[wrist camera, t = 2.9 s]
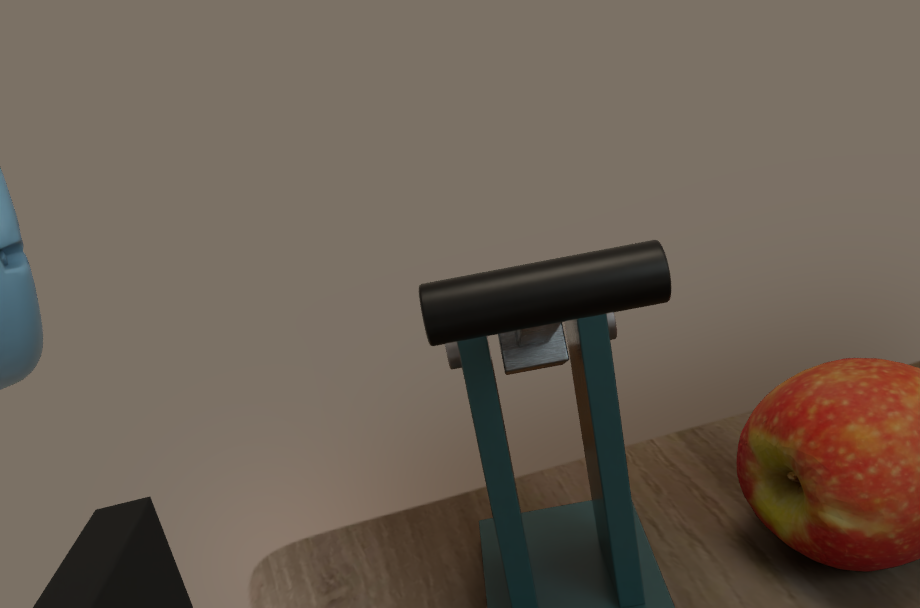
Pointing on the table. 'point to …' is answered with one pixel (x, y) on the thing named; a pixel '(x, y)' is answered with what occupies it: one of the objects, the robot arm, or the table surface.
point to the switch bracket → (568, 526)
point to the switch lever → (543, 301)
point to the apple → (839, 463)
